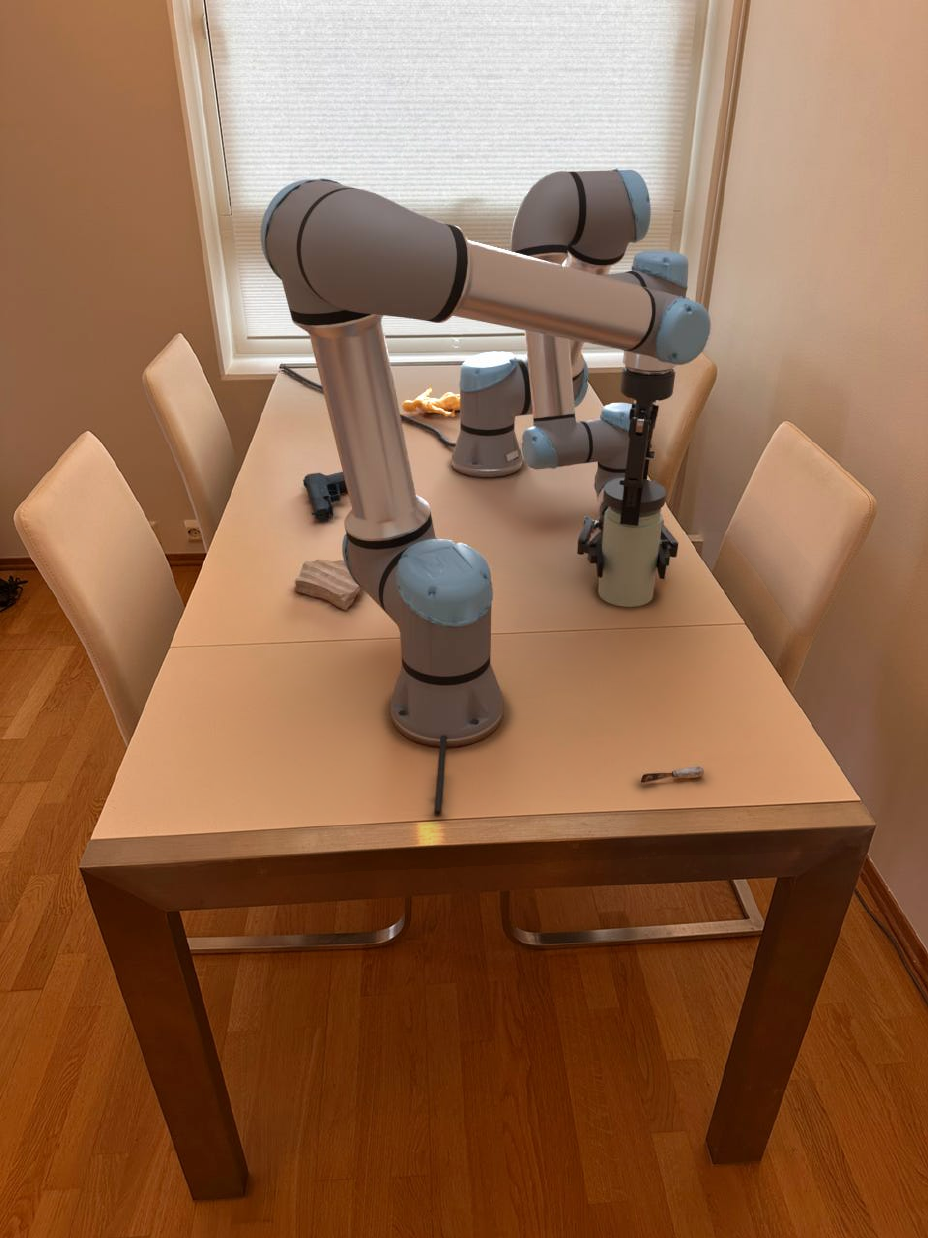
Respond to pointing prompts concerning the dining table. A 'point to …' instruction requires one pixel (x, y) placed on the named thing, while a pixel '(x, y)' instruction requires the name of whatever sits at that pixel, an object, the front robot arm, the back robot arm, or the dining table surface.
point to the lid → (649, 502)
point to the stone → (328, 582)
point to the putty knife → (674, 774)
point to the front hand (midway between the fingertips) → (632, 510)
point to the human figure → (434, 403)
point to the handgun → (324, 492)
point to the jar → (629, 558)
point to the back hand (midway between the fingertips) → (631, 570)
